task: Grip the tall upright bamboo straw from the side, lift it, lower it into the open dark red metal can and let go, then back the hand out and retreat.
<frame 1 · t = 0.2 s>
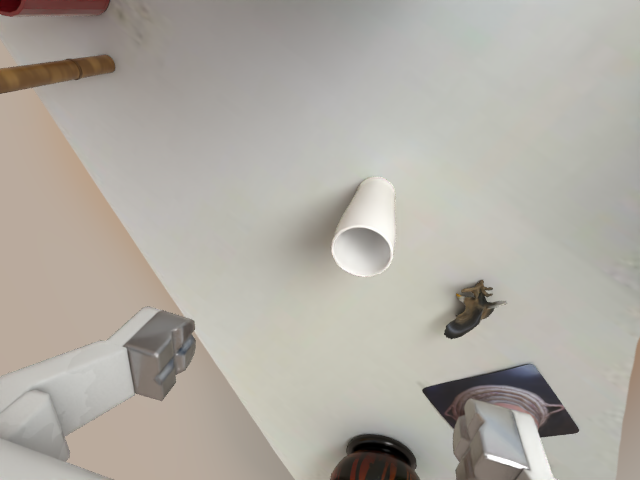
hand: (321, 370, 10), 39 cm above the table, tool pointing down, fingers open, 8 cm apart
eagle figurine: (469, 297, 55), on the table
straw: (108, 63, 48), on the table
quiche: (497, 407, 67), on the table
drinking glass: (376, 192, 49), on the table
amphora vase: (381, 450, 85), on the table
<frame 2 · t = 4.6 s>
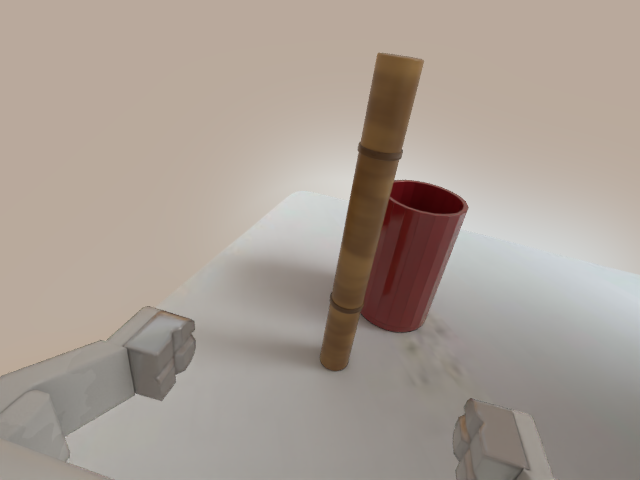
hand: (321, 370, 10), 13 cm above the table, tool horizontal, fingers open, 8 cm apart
straw: (333, 359, 27), on the table
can: (390, 306, 33), on the table
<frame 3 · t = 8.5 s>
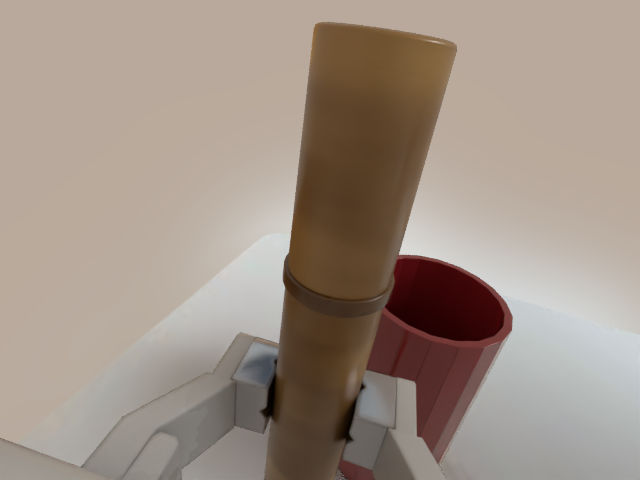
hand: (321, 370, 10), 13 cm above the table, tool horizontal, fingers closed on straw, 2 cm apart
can: (381, 440, 22), on the table
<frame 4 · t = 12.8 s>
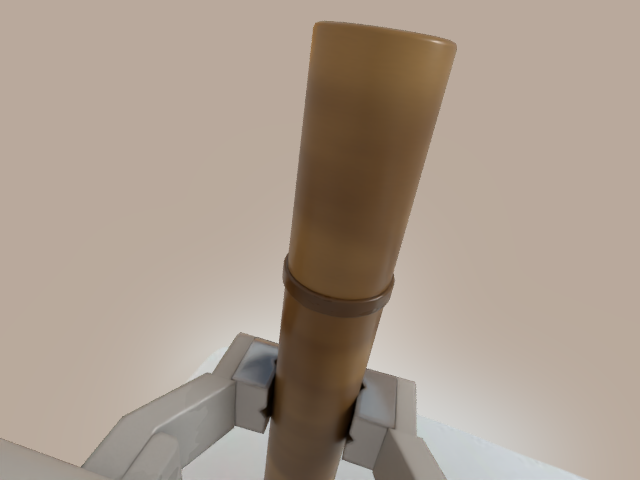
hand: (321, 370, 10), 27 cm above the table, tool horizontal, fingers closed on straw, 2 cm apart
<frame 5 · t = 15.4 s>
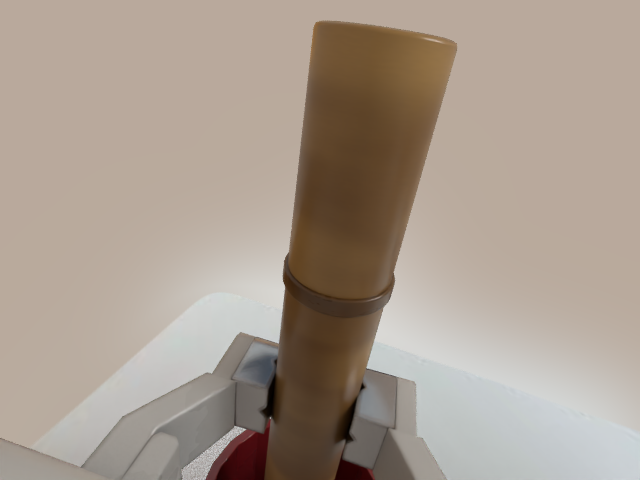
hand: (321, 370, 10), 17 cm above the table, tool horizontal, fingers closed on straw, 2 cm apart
when the fingers open (13 cm above the table, at t = 17.0 s): straw stays where it is, resting on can.
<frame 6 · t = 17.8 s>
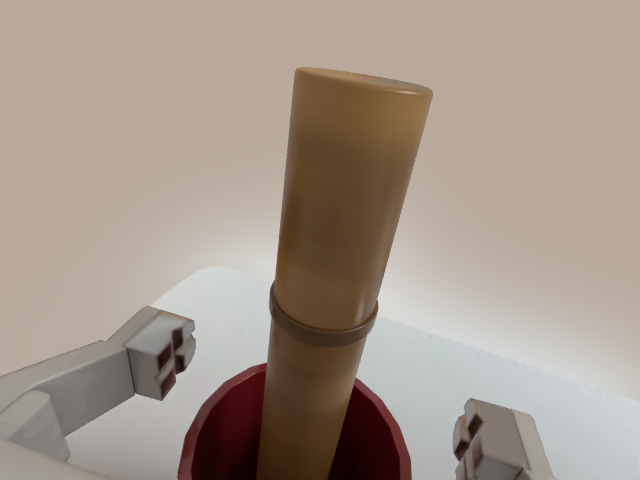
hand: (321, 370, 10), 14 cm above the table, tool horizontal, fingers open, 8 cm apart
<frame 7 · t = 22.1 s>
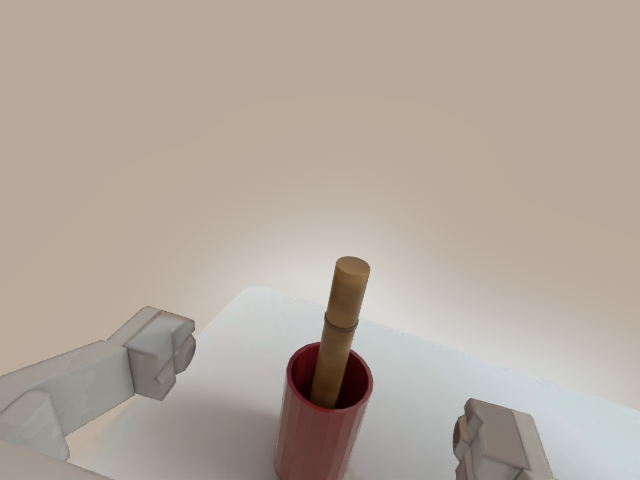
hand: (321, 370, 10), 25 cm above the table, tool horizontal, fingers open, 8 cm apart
straw: (310, 456, 32), point 1 cm above the table, touching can
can: (310, 459, 33), on the table
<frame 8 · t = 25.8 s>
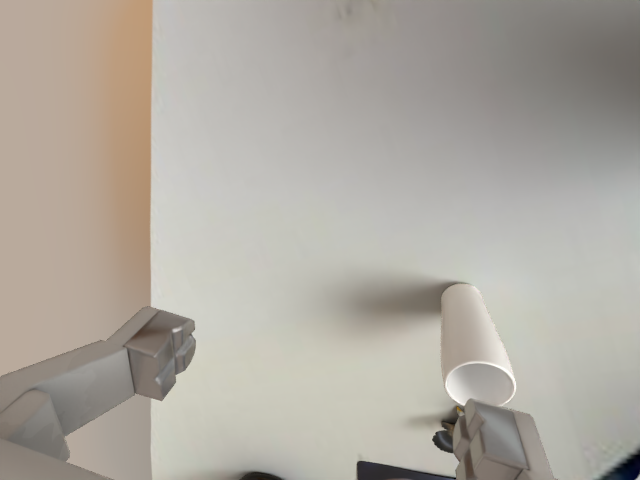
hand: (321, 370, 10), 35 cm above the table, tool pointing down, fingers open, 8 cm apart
eagle figurine: (464, 413, 57), on the table
drinking glass: (461, 297, 48), on the table
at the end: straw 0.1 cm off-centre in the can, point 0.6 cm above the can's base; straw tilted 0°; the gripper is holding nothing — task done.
